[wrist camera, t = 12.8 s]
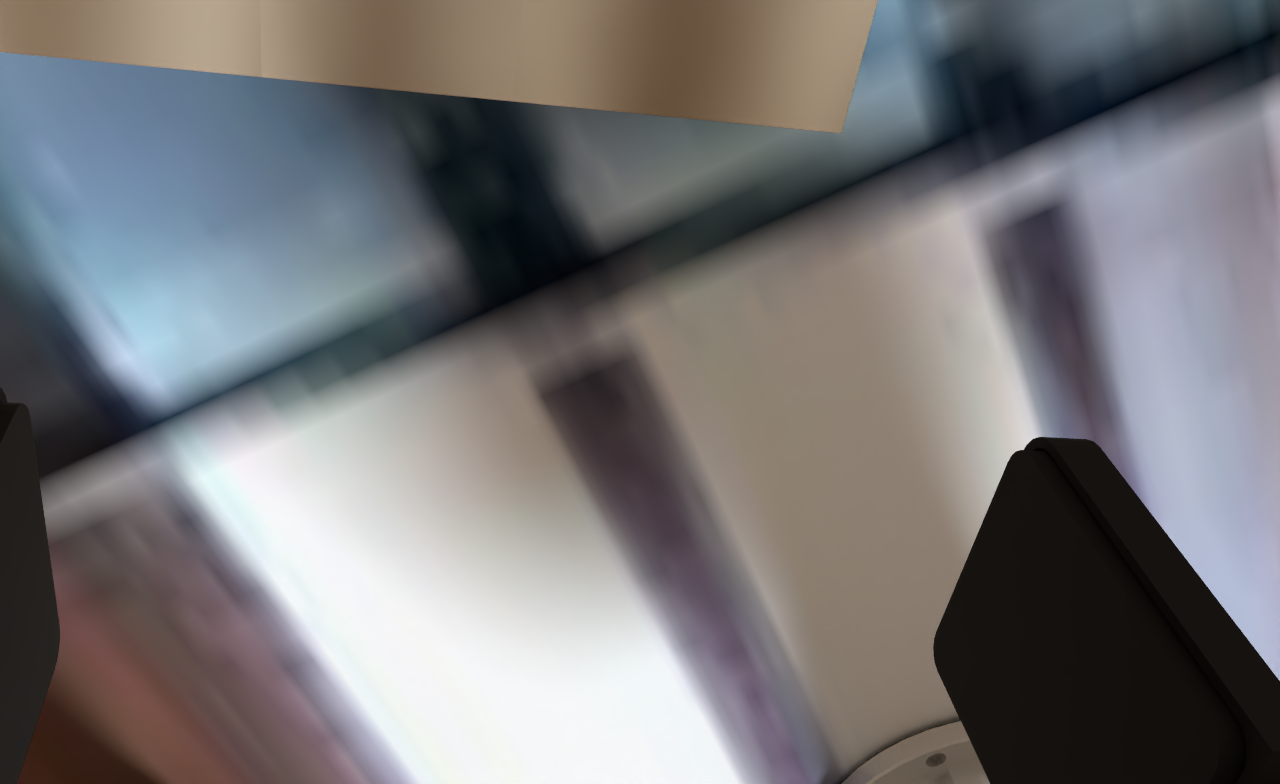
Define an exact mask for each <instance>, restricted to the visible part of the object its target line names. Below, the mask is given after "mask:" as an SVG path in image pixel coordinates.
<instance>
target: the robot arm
mask: <svg viewBox="0 0 1280 784" xmlns="http://www.w3.org/2000/svg"><path fill="white" fill-rule="evenodd" d="M59 642H60V627H59V618H58V611H57V604H56V596H55V589H54V582H53V575H52V568H51V561H50V554H49V547H48V539H47V532H46V525H45V518H44V511H43V504H42V497H41V490H40V482H39V475H38V468H37V461H36V454H35V447H34V440H33V433H32V425H31V419H30V414H29V410H28V408H27V406H26V405H25V404H23V403H7V400H6V395H5V393H4V392H3V390H2V388H1V387H0V784H17V781H18V778H19V775H20V772H21V769H22V766H23V763H24V760H25V757H26V754H27V751H28V748H29V745H30V742H31V739H32V736H33V733H34V730H35V727H36V724H37V721H38V718H39V715H40V712H41V709H42V706H43V703H44V700H45V697H46V694H47V691H48V688H49V684H50V681H51V678H52V675H53V672H54V669H55V666H56V662H57V657H58V651H59ZM933 648H934V660H935V665H936V668H937V671H938V673H939V675H940V677H941V679H942V681H943V684H944V686H945V688H946V690H947V692H948V694H949V697H950V699H951V701H952V703H953V705H954V707H955V709H956V712H957V714H958V716H959V718H960V720H961V721H957V722H954V723H950V724H946V725H943V726H939V727H935V728H932V729H929V730H926V731H924V732H921V733H919V734H916V735H914V736H911V737H909V738H906V739H904V740H902V741H900V742H898V743H896V744H895V745H893V746H891V747H889V748H887V749H885V750H883V751H882V752H880V753H878V754H877V755H876V756H874V757H873V758H871V759H870V760H868V761H867V762H866V763H864V764H863V765H861V766H860V767H859V768H857V769H856V770H855V771H854V772H853V773H852V774H851V775H850V776H849V777H848V778H847V779H846V780H845V781H844V782H843V783H841V784H1280V681H1279V680H1278V678H1277V677H1276V676H1275V675H1274V673H1273V672H1272V671H1271V669H1270V668H1269V667H1268V665H1267V664H1266V663H1265V662H1264V660H1263V659H1262V658H1261V656H1260V655H1259V654H1258V652H1257V651H1256V650H1255V649H1254V647H1253V646H1252V645H1251V643H1250V642H1249V641H1248V639H1247V638H1246V637H1245V635H1244V634H1243V633H1242V632H1241V630H1240V629H1239V628H1238V626H1237V625H1236V624H1235V622H1234V621H1233V620H1232V619H1231V617H1230V616H1229V615H1228V613H1227V612H1226V611H1225V609H1224V608H1223V607H1222V606H1221V604H1220V603H1219V602H1218V600H1217V599H1216V598H1215V596H1214V595H1213V594H1212V593H1211V591H1210V590H1209V589H1208V587H1207V586H1206V585H1205V583H1204V582H1203V581H1202V579H1201V578H1200V577H1199V576H1198V574H1197V573H1196V572H1195V570H1194V569H1193V568H1192V566H1191V565H1190V564H1189V563H1188V561H1187V560H1186V559H1185V557H1184V556H1183V555H1182V553H1181V552H1180V551H1179V550H1178V548H1177V547H1176V546H1175V544H1174V543H1173V542H1172V540H1171V539H1170V538H1169V536H1168V535H1167V534H1166V533H1165V531H1164V530H1163V529H1162V527H1161V526H1160V525H1159V523H1158V522H1157V521H1156V520H1155V518H1154V517H1153V516H1152V514H1151V513H1150V512H1149V510H1148V509H1147V508H1146V507H1145V505H1144V504H1143V503H1142V501H1141V500H1140V499H1139V497H1138V496H1137V495H1136V494H1135V492H1134V491H1133V490H1132V488H1131V487H1130V486H1129V484H1128V483H1127V482H1126V480H1125V479H1124V478H1123V477H1122V475H1121V474H1120V473H1119V471H1118V470H1117V469H1116V467H1115V466H1114V465H1113V464H1112V462H1111V461H1110V460H1109V458H1108V457H1107V456H1106V454H1105V453H1104V452H1103V451H1102V449H1101V448H1100V447H1099V446H1098V445H1097V444H1096V443H1095V442H1093V441H1090V440H1087V439H1069V438H1049V437H1039V438H1035V439H1033V440H1032V441H1030V442H1029V443H1028V444H1027V446H1026V447H1025V449H1024V450H1020V451H1016V452H1015V453H1014V454H1013V455H1012V456H1011V458H1010V460H1009V461H1008V463H1007V466H1006V468H1005V470H1004V473H1003V475H1002V478H1001V480H1000V482H999V485H998V487H997V489H996V492H995V494H994V497H993V499H992V501H991V504H990V506H989V508H988V511H987V513H986V515H985V518H984V520H983V523H982V525H981V527H980V530H979V532H978V534H977V537H976V539H975V542H974V544H973V546H972V549H971V551H970V553H969V556H968V558H967V561H966V563H965V565H964V568H963V570H962V572H961V575H960V577H959V579H958V582H957V584H956V587H955V589H954V591H953V594H952V596H951V598H950V601H949V603H948V606H947V608H946V610H945V613H944V615H943V617H942V620H941V622H940V625H939V627H938V629H937V632H936V635H935V638H934V647H933Z"/></svg>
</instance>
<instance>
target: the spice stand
mask: <svg viewBox="0 0 1280 784" xmlns="http://www.w3.org/2000/svg"><path fill="white" fill-rule="evenodd" d="M877 2H878V0H0V52H7V53H17V54H27V55H38V56H48V57H58V58H69V59H79V60H89V61H100V62H110V63H120V64H131V65H141V66H151V67H162V68H172V69H182V70H193V71H203V72H213V73H224V74H234V75H244V76H255V77H265V78H275V79H286V80H296V81H306V82H317V83H327V84H337V85H348V86H358V87H368V88H379V89H389V90H400V91H410V92H420V93H431V94H441V95H451V96H462V97H472V98H482V99H493V100H503V101H513V102H524V103H534V104H544V105H555V106H565V107H575V108H586V109H596V110H606V111H617V112H627V113H637V114H648V115H658V116H668V117H679V118H689V119H699V120H710V121H720V122H730V123H741V124H751V125H761V126H772V127H782V128H792V129H803V130H813V131H823V132H834V133H842V129H843V126H844V122H845V118H846V115H847V111H848V107H849V104H850V100H851V97H852V93H853V89H854V86H855V82H856V78H857V75H858V71H859V68H860V64H861V60H862V57H863V53H864V50H865V46H866V42H867V39H868V35H869V31H870V28H871V24H872V21H873V17H874V13H875V10H876V6H877Z"/></svg>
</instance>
